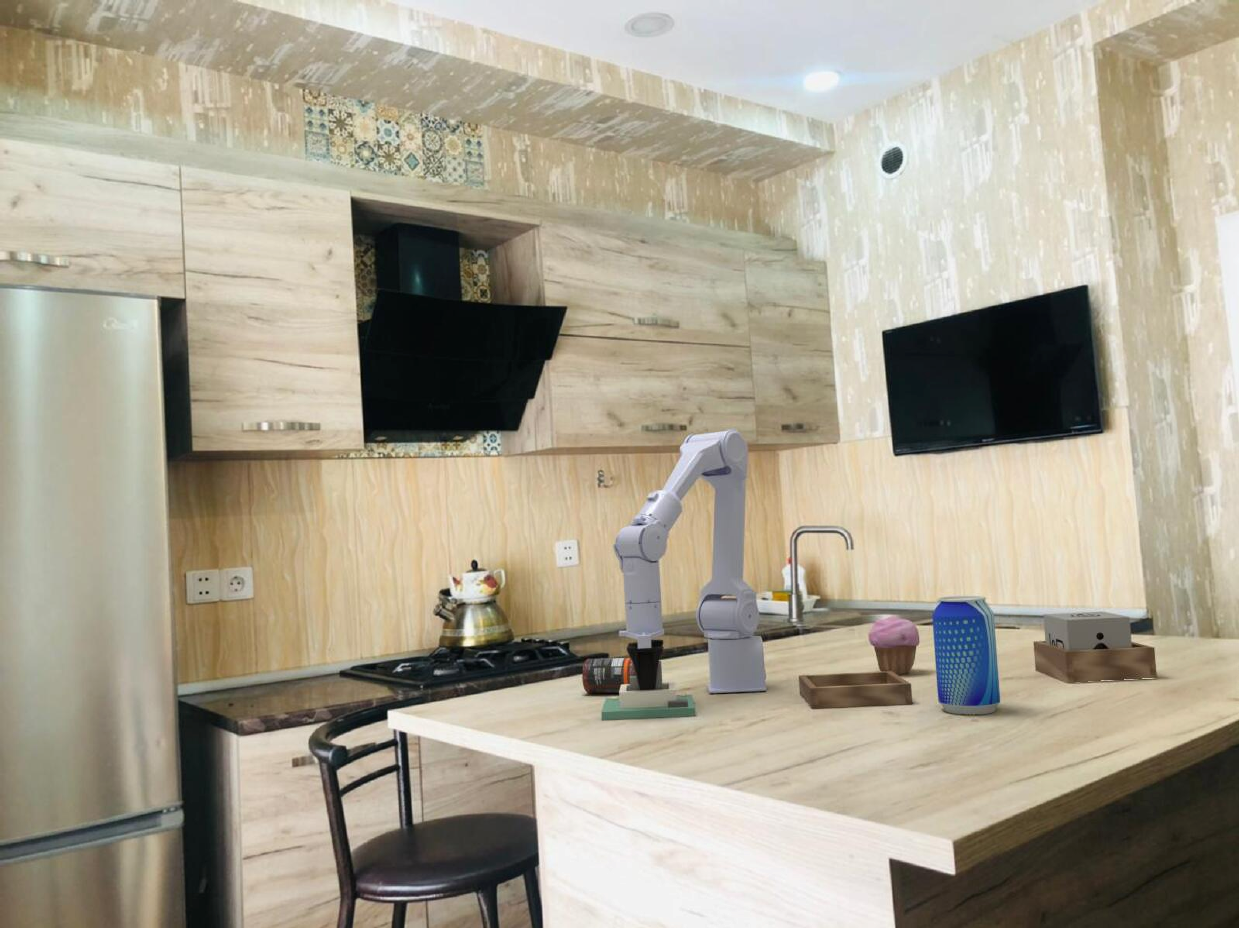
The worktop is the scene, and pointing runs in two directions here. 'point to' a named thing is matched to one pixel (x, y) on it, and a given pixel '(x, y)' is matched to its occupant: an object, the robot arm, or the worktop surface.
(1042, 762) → the worktop surface
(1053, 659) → the cube crate
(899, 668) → the cupcake
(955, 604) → the beer can
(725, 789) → the worktop surface
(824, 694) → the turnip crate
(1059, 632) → the icon cube
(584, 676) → the supplement bottle
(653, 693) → the frame
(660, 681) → the plug
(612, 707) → the board
